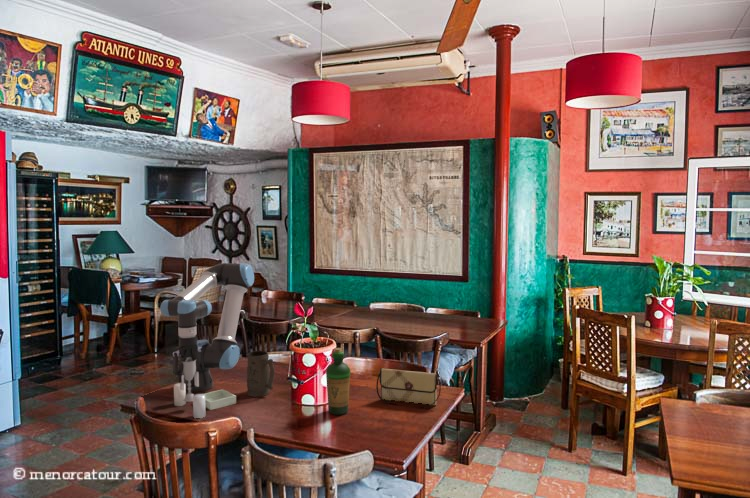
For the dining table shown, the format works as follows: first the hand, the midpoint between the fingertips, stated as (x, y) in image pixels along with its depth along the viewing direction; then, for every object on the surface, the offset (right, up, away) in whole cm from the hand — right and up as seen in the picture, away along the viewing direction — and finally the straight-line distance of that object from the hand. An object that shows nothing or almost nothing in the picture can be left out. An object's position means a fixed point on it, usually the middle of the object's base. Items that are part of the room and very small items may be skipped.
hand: (189, 387), depth 241 cm
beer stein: (+28, -9, +22) cm, 36 cm away
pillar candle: (+7, -11, -7) cm, 14 cm away
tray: (+9, -9, +9) cm, 16 cm away
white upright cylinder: (-7, -10, +8) cm, 14 cm away
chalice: (0, -6, 0) cm, 6 cm away
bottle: (+66, -10, -2) cm, 67 cm away
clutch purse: (+97, -10, +8) cm, 97 cm away
